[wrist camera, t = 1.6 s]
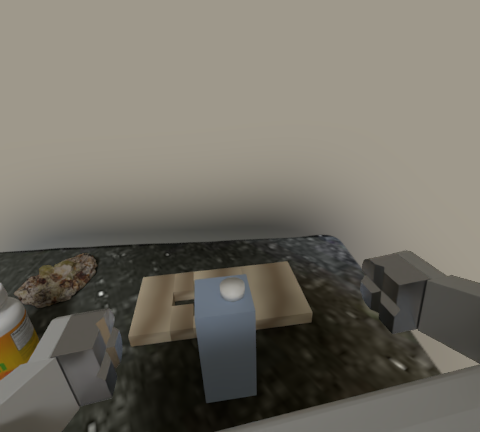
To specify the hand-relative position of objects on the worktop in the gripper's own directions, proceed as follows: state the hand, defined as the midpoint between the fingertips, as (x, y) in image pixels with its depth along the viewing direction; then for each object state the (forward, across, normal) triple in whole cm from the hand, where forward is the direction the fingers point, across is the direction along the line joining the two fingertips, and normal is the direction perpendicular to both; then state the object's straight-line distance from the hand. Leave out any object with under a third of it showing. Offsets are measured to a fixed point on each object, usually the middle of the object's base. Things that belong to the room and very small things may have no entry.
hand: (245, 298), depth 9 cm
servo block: (+12, +1, +19) cm, 23 cm away
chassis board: (+22, 0, +18) cm, 29 cm away
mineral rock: (+31, +22, +17) cm, 42 cm away
